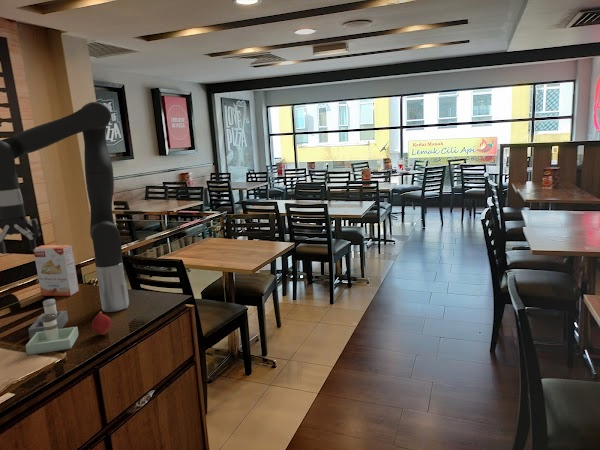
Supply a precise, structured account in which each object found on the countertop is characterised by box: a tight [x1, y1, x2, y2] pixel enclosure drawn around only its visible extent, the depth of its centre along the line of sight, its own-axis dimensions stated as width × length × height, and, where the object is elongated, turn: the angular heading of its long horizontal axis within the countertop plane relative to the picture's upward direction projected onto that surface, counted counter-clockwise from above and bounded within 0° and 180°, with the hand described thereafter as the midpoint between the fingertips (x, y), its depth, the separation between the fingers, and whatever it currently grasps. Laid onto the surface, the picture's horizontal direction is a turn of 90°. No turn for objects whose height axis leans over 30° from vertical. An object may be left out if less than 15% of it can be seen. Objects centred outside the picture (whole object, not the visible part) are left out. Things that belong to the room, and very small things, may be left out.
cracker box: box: [33, 244, 80, 297], centre depth 184 cm, size 14×6×21 cm, turn 81°
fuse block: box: [28, 310, 69, 341], centre depth 149 cm, size 8×14×4 cm, turn 14°
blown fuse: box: [42, 313, 60, 342], centre depth 136 cm, size 4×4×9 cm
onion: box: [91, 311, 113, 336], centre depth 141 cm, size 6×6×8 cm
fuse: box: [42, 298, 58, 317], centre depth 152 cm, size 4×4×9 cm
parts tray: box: [25, 326, 80, 356], centre depth 137 cm, size 12×10×3 cm
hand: (18, 251), depth 146 cm, fingers open, 8 cm apart
